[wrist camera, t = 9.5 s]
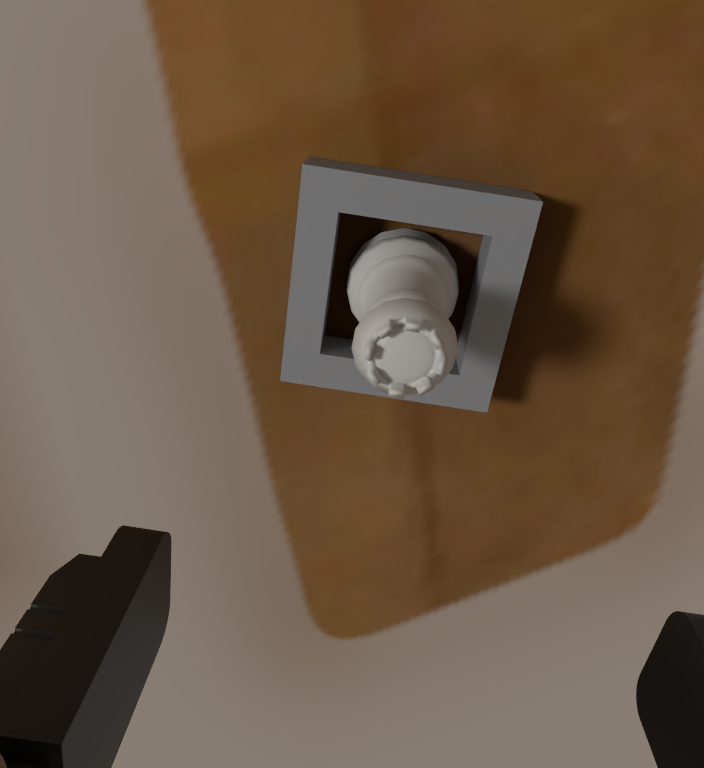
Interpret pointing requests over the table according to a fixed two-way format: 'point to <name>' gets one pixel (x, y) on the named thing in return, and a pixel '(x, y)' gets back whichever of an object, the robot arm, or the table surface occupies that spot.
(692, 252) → the table surface
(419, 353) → the rook chess piece
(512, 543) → the table surface
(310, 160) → the socket plinth
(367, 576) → the table surface
